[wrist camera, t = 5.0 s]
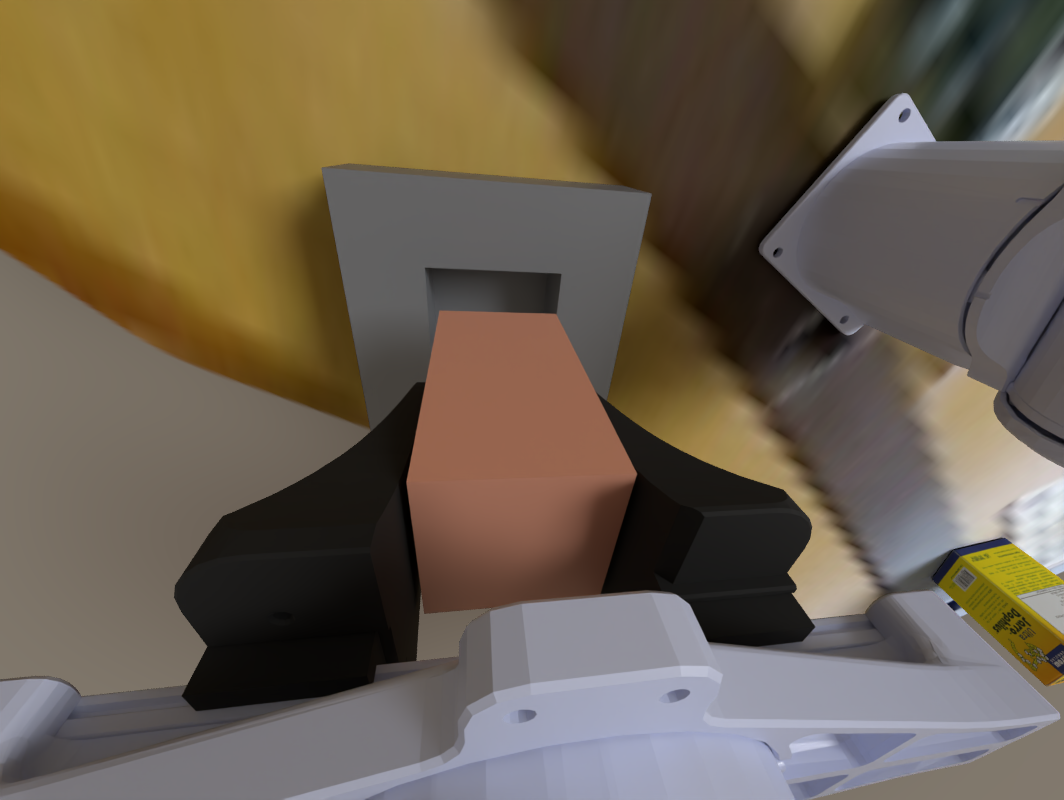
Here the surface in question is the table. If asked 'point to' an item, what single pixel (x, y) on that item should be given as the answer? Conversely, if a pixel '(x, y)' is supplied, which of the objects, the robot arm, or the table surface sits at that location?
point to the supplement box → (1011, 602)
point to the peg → (512, 467)
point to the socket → (477, 263)
